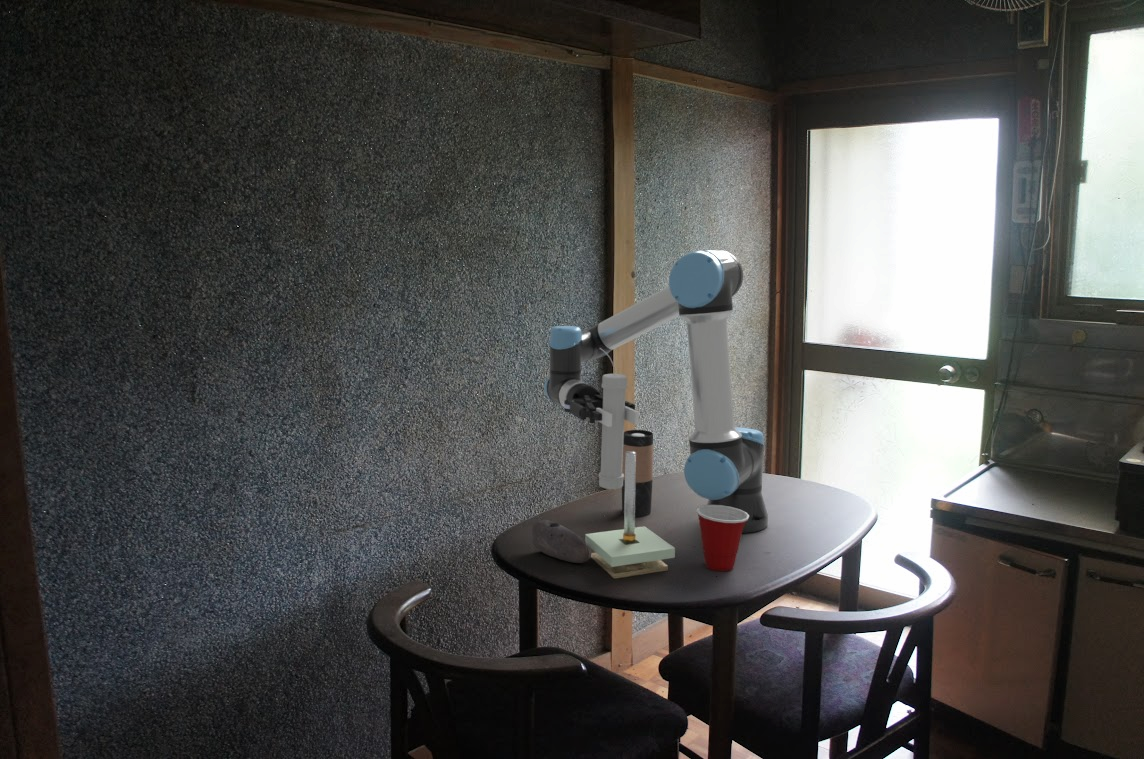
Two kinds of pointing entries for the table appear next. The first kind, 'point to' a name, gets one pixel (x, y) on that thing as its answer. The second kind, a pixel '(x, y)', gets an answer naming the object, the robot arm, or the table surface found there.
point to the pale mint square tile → (629, 547)
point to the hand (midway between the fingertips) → (623, 419)
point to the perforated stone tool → (559, 542)
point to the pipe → (613, 430)
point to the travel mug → (640, 468)
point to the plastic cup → (721, 534)
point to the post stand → (630, 529)
